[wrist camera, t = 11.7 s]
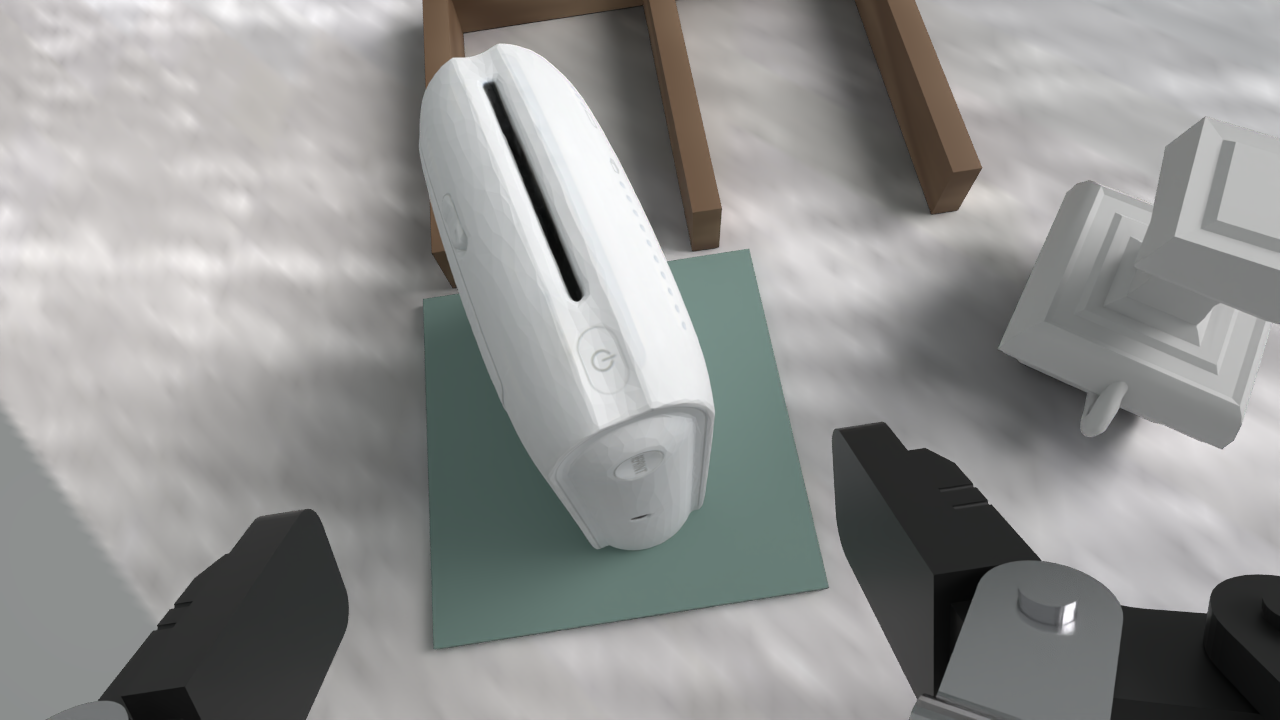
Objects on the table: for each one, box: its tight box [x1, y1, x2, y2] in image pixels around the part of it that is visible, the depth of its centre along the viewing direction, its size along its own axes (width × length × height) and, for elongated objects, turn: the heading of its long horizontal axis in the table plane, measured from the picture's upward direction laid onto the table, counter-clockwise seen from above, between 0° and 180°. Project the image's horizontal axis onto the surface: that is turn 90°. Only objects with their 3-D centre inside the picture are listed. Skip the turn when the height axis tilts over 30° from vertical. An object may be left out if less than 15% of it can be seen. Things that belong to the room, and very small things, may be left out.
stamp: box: [998, 116, 1280, 449], centre depth 22 cm, size 9×7×8 cm
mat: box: [423, 249, 829, 649], centre depth 25 cm, size 12×12×1 cm
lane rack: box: [423, 0, 982, 288], centre depth 29 cm, size 19×14×3 cm
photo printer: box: [419, 44, 715, 550], centre depth 19 cm, size 10×4×12 cm, turn 22°
